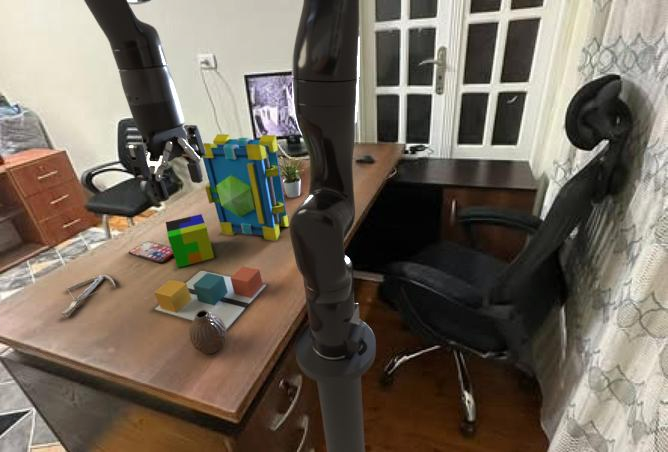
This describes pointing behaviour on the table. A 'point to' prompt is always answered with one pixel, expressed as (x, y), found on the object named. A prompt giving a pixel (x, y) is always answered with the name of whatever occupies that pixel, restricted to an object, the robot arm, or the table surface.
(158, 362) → the table surface
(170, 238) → the puzzle toy
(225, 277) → the desk mat
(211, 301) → the teal block
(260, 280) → the terracotta block
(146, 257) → the smartphone
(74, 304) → the crossbow
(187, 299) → the mustard block
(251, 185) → the blue yellow-cornered frame
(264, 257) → the table surface
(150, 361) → the table surface
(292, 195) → the house plant
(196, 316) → the vase
